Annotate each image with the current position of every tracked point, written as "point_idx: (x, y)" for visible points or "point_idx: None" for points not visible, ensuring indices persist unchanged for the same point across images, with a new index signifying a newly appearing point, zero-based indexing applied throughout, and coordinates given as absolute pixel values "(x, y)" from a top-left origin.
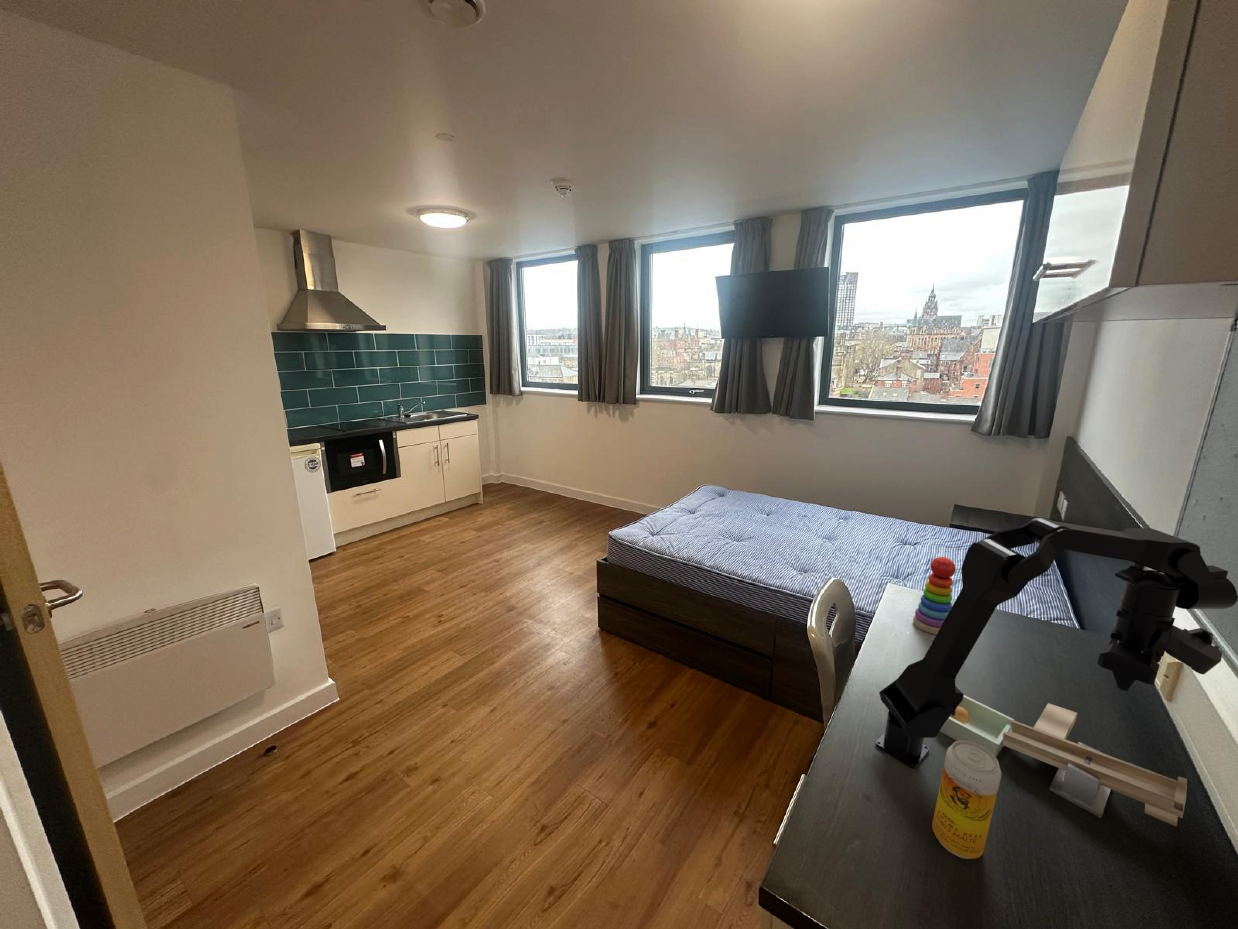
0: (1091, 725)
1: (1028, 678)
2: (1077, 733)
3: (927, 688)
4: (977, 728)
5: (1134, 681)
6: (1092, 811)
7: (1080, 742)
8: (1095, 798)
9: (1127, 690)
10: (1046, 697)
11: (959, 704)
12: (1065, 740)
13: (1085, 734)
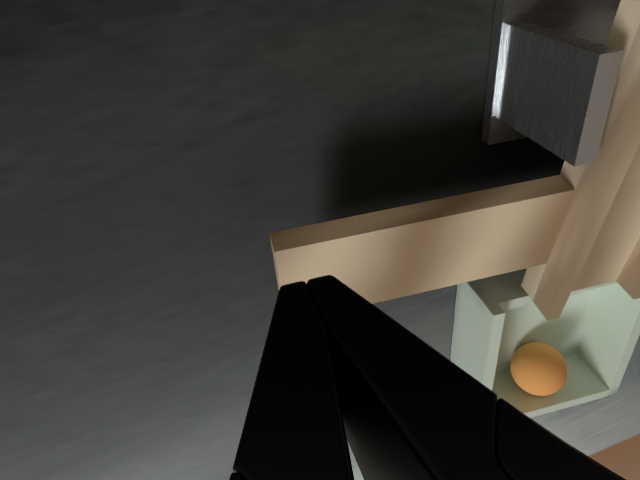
0: (108, 176)
1: (34, 404)
2: (234, 181)
3: None
4: (513, 320)
5: (459, 370)
6: None
7: (578, 160)
8: None
9: (336, 281)
10: (97, 327)
11: None
12: (609, 195)
13: (208, 164)
